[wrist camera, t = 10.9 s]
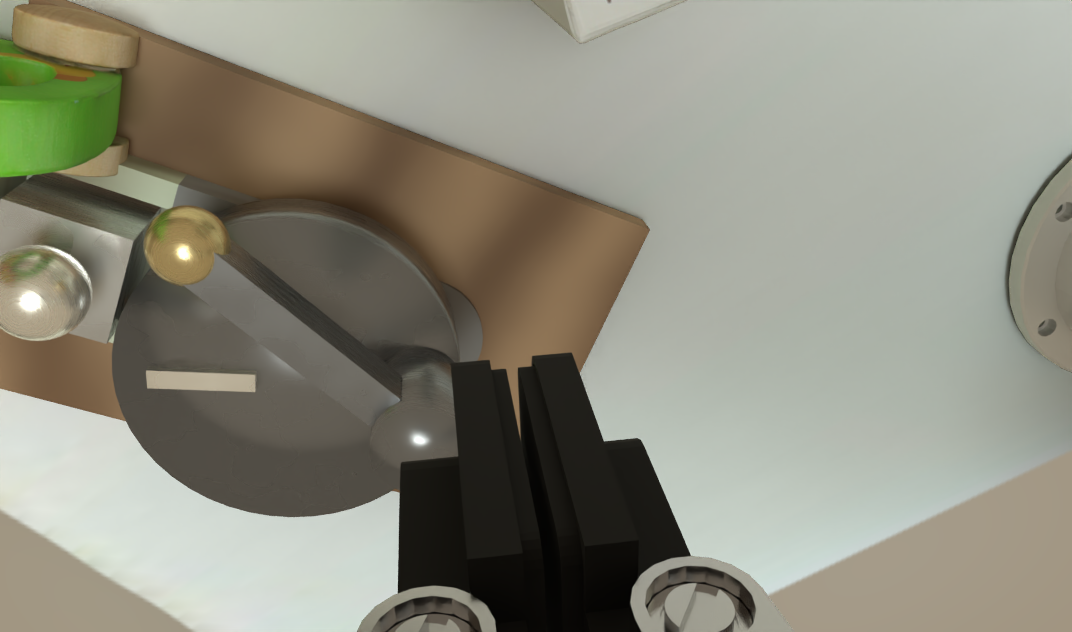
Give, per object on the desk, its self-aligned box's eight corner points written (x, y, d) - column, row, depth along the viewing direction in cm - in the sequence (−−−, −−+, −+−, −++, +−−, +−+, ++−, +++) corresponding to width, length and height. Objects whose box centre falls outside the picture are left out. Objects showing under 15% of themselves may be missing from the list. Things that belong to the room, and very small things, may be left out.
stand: (642, 219, 36) (672, 261, 32) (504, 504, 41) (515, 571, 37) (44, -9, 29) (-16, 6, 25) (-30, 362, 35) (-89, 424, 31)
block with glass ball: (161, 206, 32) (104, 275, 26) (135, 301, 33) (76, 388, 27) (42, 168, 30) (-45, 231, 25) (22, 268, 32) (-65, 349, 26)
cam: (474, 172, 32) (491, 245, 25) (447, 470, 38) (455, 596, 31) (124, 144, 30) (39, 215, 23) (149, 463, 36) (87, 597, 29)
